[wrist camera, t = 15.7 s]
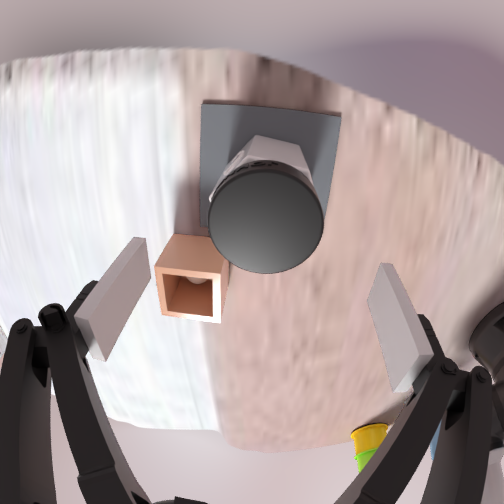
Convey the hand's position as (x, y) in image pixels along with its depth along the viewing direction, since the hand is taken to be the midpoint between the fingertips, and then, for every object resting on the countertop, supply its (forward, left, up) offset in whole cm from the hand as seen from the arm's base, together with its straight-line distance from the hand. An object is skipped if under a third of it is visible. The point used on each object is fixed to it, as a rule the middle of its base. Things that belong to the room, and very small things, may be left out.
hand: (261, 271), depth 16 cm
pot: (+7, +12, -17) cm, 22 cm away
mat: (0, 0, -17) cm, 17 cm away
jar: (0, 0, -17) cm, 17 cm away
